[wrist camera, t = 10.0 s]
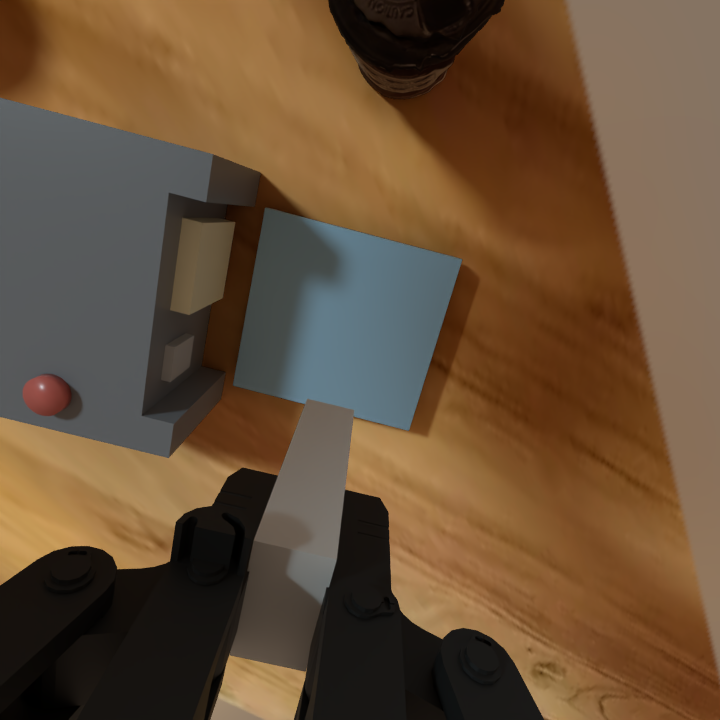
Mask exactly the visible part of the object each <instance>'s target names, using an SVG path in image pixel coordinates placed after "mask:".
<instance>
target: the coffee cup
mask: <svg viewBox="0 0 720 720" xmlns="http://www.w3.org/2000/svg"><path fill="white" fill-rule="evenodd" d="M504 1H505V0H328V2H329V8H330V12H331V14H332V15H333V18H334V20H335V23H336V25H337V26H338V28H339V31H340V33H341V35H342V36H343V37H344V39H345V41H346V44H347V45H348V46H349V48H350V50H351V52H352V54H353V55H354V57H355V59H356V61H357V63H358V66H359V69H360V71H361V73H362V75H363V77H364V78H365V80H366V81H367V82H368V83H369V84H370V85H371V86H372V87H373V88H374V89H376V90H377V91H378V92H380V93H381V94H382V95H384V96H386V97H389V98H394V99H408V98H413V97H416V96H419V95H422V94H425V93H427V92H429V91H430V90H431V89H432V88H433V87H434V86H435V85H437V84H438V83H439V82H441V81H442V80H443V79H444V77H445V75H446V72H447V69H448V67H450V66H451V65H452V64H453V62H454V58H455V55H458V54H459V52H460V51H461V50H462V49H463V48H464V47H465V45H466V44H467V43H468V42H469V41H470V40H471V39H472V38H473V37H474V36H475V35H476V33H477V32H478V31H480V30H481V29H482V28H483V27H484V25H485V24H486V23H487V22H488V20H489V19H490V17H491V16H492V15H495V14H497V13H499V12H500V11H501V7H502V6H503V4H504Z"/></svg>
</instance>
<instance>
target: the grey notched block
mask: <svg viewBox="0 0 720 720" xmlns="http://www.w3.org/2000/svg"><path fill="white" fill-rule="evenodd" d="M260 174H261V173H260V172H258V171H255V170H252V169H250V168H247V167H245V166H242V165H239V164H237V163H234V162H232V161H229V160H226V159H224V158H221V157H219V156H216V155H213V154H210V153H206V152H202V151H198V150H195V149H191V148H187V147H183V146H180V145H176V144H172V143H168V142H165V141H161V140H157V139H153V138H150V137H146V136H142V135H138V134H135V133H131V132H127V131H123V130H120V129H116V128H112V127H108V126H105V125H101V124H97V123H93V122H89V121H86V120H82V119H78V118H74V117H71V116H67V115H63V114H59V113H56V112H52V111H48V110H44V109H41V108H37V107H33V106H29V105H26V104H22V103H18V102H14V101H11V100H7V99H3V98H0V417H3V418H7V419H11V420H15V421H19V422H23V423H27V424H31V425H36V426H40V427H44V428H48V429H52V430H56V431H60V432H64V433H68V434H72V435H77V436H81V437H85V438H89V439H93V440H97V441H101V442H105V443H109V444H113V445H118V446H122V447H126V448H130V449H134V450H138V451H142V452H146V453H150V454H154V455H159V456H163V457H167V458H169V457H170V456H171V455H172V454H173V453H174V452H175V450H176V449H177V448H178V447H179V446H180V445H181V444H182V442H183V441H184V440H185V439H186V438H187V437H188V436H189V435H190V433H191V432H192V431H193V430H194V429H195V428H196V427H197V425H198V424H199V423H200V422H201V421H202V420H203V419H204V418H205V416H206V415H207V414H208V413H209V412H210V411H211V410H212V408H213V407H214V406H215V405H216V404H217V403H218V402H219V401H220V399H221V396H222V390H223V384H224V379H225V373H226V372H222V371H218V370H214V369H210V368H206V367H202V360H203V354H204V348H205V342H206V335H207V329H208V323H209V316H210V310H211V304H212V303H214V302H216V301H218V300H220V299H222V298H223V294H224V288H225V282H226V276H227V270H228V264H229V258H230V252H231V246H232V240H233V234H234V228H235V222H233V221H229V220H225V216H226V209H227V204H230V205H240V206H251V207H255V203H256V197H257V191H258V186H259V180H260Z"/></svg>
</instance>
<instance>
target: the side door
mask: <svg viewBox="0 0 720 720" xmlns="http://www.w3.org/2000/svg"><path fill="white" fill-rule="evenodd" d="M461 262H462V259H460V258H457V257H453V256H449V255H445V254H442V253H438V252H434V251H430V250H426V249H423V248H419V247H415V246H411V245H408V244H404V243H400V242H396V241H392V240H389V239H385V238H381V237H377V236H373V235H370V234H366V233H362V232H358V231H355V230H351V229H347V228H343V227H339V226H336V225H332V224H328V223H324V222H320V221H317V220H313V219H309V218H305V217H301V216H298V215H294V214H290V213H286V212H283V211H279V210H276V209H272V208H268V207H266V208H265V212H264V217H263V223H262V228H261V234H260V239H259V245H258V250H257V256H256V261H255V266H254V272H253V277H252V283H251V288H250V294H249V299H248V305H247V310H246V316H245V321H244V327H243V332H242V338H241V343H240V349H239V354H238V360H237V365H236V371H235V376H234V382H233V386H236V387H240V388H244V389H248V390H252V391H256V392H260V393H264V394H267V395H271V396H275V397H279V398H283V399H287V400H291V401H295V402H299V403H302V404H305V403H306V401H307V399H311V400H315V401H319V402H323V403H327V404H331V405H336V406H340V407H344V408H348V409H352V410H354V416H353V417H357V418H361V419H365V420H369V421H372V422H376V423H380V424H384V425H388V426H392V427H396V428H400V429H404V430H407V431H409V429H410V426H411V422H412V419H413V416H414V413H415V410H416V406H417V403H418V400H419V397H420V394H421V390H422V387H423V384H424V381H425V378H426V374H427V371H428V368H429V365H430V362H431V358H432V355H433V352H434V349H435V346H436V342H437V339H438V336H439V333H440V330H441V326H442V323H443V320H444V317H445V314H446V310H447V307H448V304H449V301H450V298H451V294H452V291H453V288H454V285H455V282H456V278H457V275H458V272H459V269H460V266H461Z"/></svg>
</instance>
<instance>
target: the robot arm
mask: <svg viewBox="0 0 720 720" xmlns="http://www.w3.org/2000/svg"><path fill="white" fill-rule="evenodd" d="M353 416H354V410H352V409H348V408H344V407H340V406H336V405H331V404H327V403H323V402H319V401H315V400H311V399H307V401H306V403H305V406H304V408H303V411H302V414H301V416H300V419H299V422H298V424H297V427H296V430H295V432H294V435H293V438H292V440H291V443H290V446H289V448H288V451H287V453H286V456H285V459H284V461H283V464H282V467H281V469H280V472H279V475H278V476H277V475H273V474H268V473H264V472H260V471H255V470H251V469H247V468H241V469H240V470H238V471H237V472H235V473H233V474H232V475H230V476H229V477H228V478H227V480H226V482H225V483H224V485H223V487H222V489H221V491H220V493H219V494H218V496H217V498H216V499H215V502H214V504H213V505H212V506H209V507H202V508H196V509H194V510H192V511H190V512H187V513H185V514H184V515H183V516H182V517H181V518H180V519H179V520H178V521H177V522H176V525H175V532H174V539H173V546H172V552H171V559H170V562H168V563H166V564H163V565H159V566H156V567H150V568H142V569H117V566H116V564H115V561H114V559H113V557H112V556H110V555H109V554H108V553H106V552H105V551H104V550H101V549H97V548H94V547H90V546H74V547H68V548H64V549H60V550H56V551H53V552H51V553H49V554H47V555H45V556H43V557H41V558H40V559H38V560H36V561H35V562H33V563H32V564H30V565H29V566H28V567H26V568H25V569H23V570H22V571H20V572H19V573H18V574H16V575H15V576H13V577H12V578H10V579H9V580H8V581H6V582H5V583H3V584H2V585H0V720H210V719H211V715H212V713H213V710H214V707H215V704H216V701H217V698H218V694H219V691H220V688H221V685H222V681H223V676H224V671H225V667H226V663H227V660H228V657H229V654H230V655H231V656H236V657H241V658H245V659H250V660H255V661H259V662H264V663H269V664H273V665H278V666H282V667H287V668H292V669H296V670H301V671H306V668H307V671H306V678H305V682H304V685H303V689H302V693H301V696H300V700H299V703H298V707H297V710H296V714H295V718H294V720H544V719H543V717H542V715H541V713H540V711H539V709H538V707H537V705H536V703H535V701H534V700H533V698H532V696H531V694H530V692H529V690H528V688H527V686H526V684H525V683H524V681H523V679H522V677H521V675H520V673H519V671H518V669H517V667H516V665H515V664H514V662H513V660H512V659H511V658H510V656H509V655H508V653H507V652H506V651H505V649H504V648H503V647H501V646H500V645H499V644H498V643H497V642H496V641H495V640H493V639H492V638H491V637H489V636H487V635H485V634H483V633H481V632H479V631H476V630H471V629H466V628H461V629H456V630H452V631H451V632H450V633H448V634H447V635H446V636H445V637H444V638H443V639H441V638H439V637H437V636H435V635H433V634H431V633H429V632H427V631H425V630H423V629H422V628H420V627H419V626H417V625H415V624H414V623H412V622H411V621H410V620H409V619H408V618H407V617H406V616H405V615H403V613H402V612H401V611H400V608H399V604H398V601H397V599H396V597H395V596H394V595H393V593H392V590H391V571H390V544H389V530H388V529H389V517H388V511H387V509H386V507H385V506H384V504H383V502H382V501H381V499H380V498H378V497H374V496H369V495H365V494H361V493H357V492H352V491H348V490H345V485H346V476H347V468H348V459H349V451H350V442H351V433H352V425H353Z"/></svg>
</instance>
